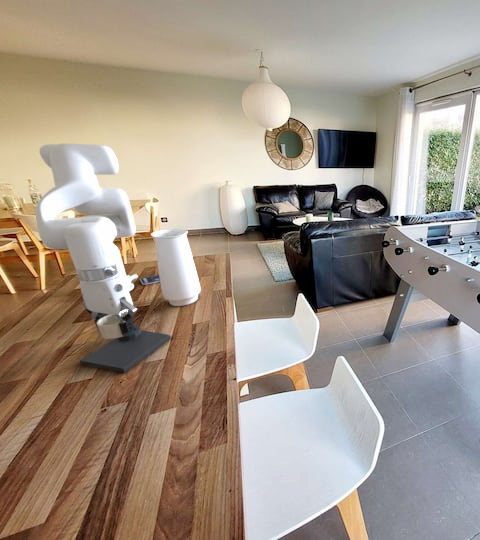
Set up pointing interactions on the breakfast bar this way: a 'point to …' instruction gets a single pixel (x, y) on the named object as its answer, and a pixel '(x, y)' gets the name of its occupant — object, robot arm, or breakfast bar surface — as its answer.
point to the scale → (125, 350)
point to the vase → (176, 267)
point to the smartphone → (150, 280)
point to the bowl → (109, 326)
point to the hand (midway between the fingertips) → (116, 330)
